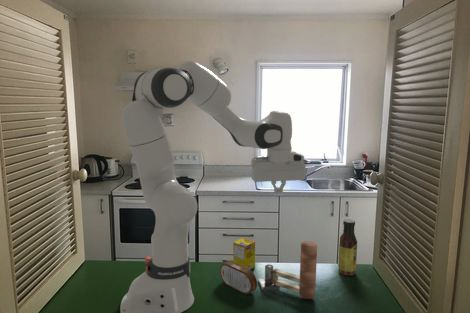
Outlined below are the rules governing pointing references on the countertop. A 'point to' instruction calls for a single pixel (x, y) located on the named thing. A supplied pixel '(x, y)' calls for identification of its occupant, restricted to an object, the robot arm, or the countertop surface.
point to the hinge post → (268, 279)
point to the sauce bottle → (348, 249)
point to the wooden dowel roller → (301, 272)
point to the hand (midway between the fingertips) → (278, 192)
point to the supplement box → (244, 253)
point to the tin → (238, 277)
